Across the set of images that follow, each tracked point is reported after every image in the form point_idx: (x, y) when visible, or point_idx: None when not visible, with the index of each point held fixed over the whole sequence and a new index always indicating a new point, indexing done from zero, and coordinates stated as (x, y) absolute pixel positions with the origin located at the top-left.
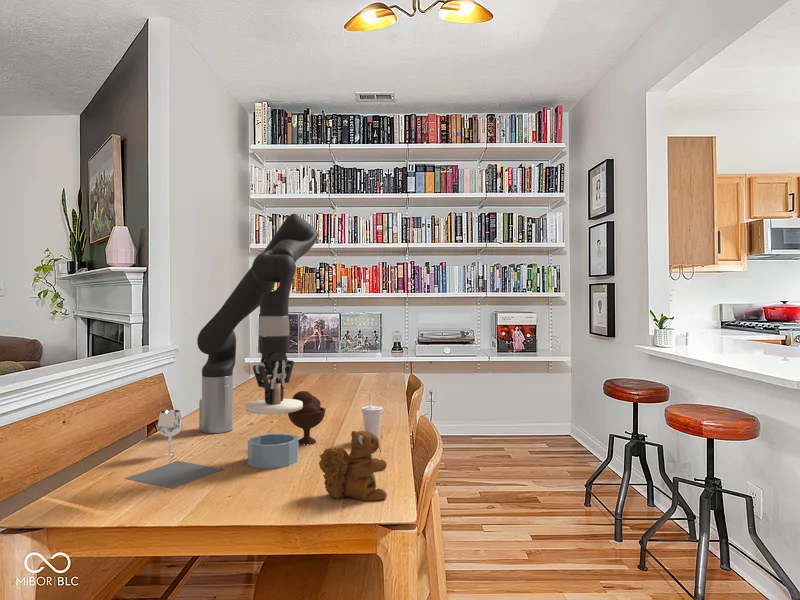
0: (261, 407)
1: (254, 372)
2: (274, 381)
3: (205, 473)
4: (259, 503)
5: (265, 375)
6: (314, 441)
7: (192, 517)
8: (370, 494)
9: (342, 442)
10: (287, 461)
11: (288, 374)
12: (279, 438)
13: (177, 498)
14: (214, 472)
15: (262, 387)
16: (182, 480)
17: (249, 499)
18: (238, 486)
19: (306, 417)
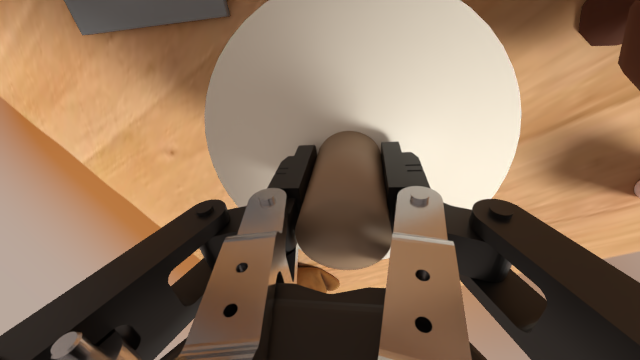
0: (244, 169)
1: (43, 311)
2: (396, 214)
3: (175, 6)
4: (192, 205)
5: (163, 336)
6: (618, 43)
7: (99, 166)
8: None
9: (635, 119)
10: None
11: (514, 329)
12: None
13: (91, 82)
14: (197, 19)
15: (231, 209)
16: (111, 2)
17: (189, 185)
18: (204, 131)
19: (630, 77)
